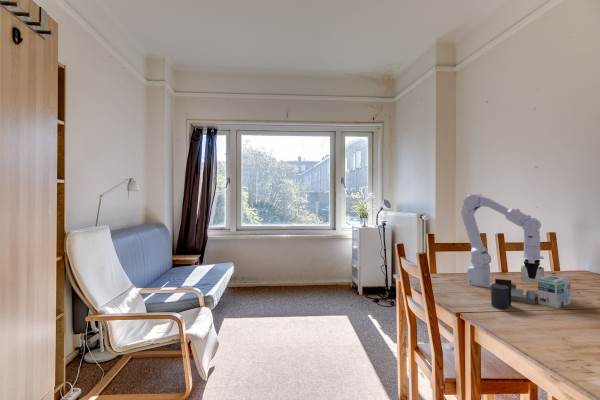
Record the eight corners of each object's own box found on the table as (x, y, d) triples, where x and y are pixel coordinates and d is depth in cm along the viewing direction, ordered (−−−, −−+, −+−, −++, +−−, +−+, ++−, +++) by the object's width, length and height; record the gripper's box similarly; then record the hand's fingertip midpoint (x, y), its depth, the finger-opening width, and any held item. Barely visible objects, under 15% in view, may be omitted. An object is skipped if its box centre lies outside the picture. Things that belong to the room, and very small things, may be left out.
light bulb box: (557, 309, 120) (557, 280, 120) (537, 304, 126) (537, 277, 126) (571, 304, 125) (571, 277, 125) (551, 300, 131) (551, 273, 131)
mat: (501, 292, 142) (501, 291, 142) (503, 287, 150) (503, 286, 150) (547, 298, 133) (547, 297, 133) (547, 293, 140) (546, 292, 140)
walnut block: (504, 290, 144) (504, 283, 144) (505, 288, 147) (505, 281, 147) (515, 291, 141) (515, 284, 141) (516, 289, 145) (516, 282, 145)
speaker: (494, 301, 129) (495, 276, 128) (511, 305, 125) (511, 279, 124) (488, 307, 124) (488, 282, 123) (505, 312, 120) (506, 285, 119)
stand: (492, 299, 133) (492, 290, 133) (496, 292, 143) (496, 284, 143) (534, 305, 125) (534, 296, 125) (535, 297, 134) (535, 289, 134)
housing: (521, 280, 140) (521, 266, 140) (521, 278, 144) (521, 264, 144) (544, 283, 135) (544, 268, 135) (544, 281, 139) (544, 266, 139)
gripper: (543, 249, 131) (543, 282, 131) (543, 244, 143) (543, 275, 143) (522, 247, 135) (522, 279, 135) (524, 243, 147) (524, 273, 147)
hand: (532, 277), depth 139 cm, fingers closed on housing, 5 cm apart
